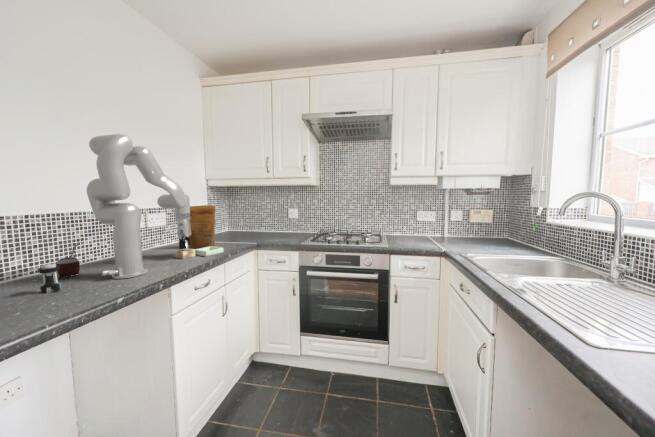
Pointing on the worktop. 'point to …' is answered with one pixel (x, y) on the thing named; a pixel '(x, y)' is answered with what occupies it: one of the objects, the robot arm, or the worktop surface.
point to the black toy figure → (49, 278)
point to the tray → (209, 251)
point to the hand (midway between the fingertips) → (185, 246)
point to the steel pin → (186, 246)
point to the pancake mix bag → (202, 226)
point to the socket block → (185, 253)
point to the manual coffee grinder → (68, 265)
